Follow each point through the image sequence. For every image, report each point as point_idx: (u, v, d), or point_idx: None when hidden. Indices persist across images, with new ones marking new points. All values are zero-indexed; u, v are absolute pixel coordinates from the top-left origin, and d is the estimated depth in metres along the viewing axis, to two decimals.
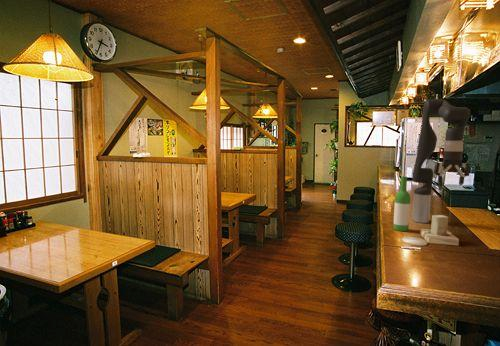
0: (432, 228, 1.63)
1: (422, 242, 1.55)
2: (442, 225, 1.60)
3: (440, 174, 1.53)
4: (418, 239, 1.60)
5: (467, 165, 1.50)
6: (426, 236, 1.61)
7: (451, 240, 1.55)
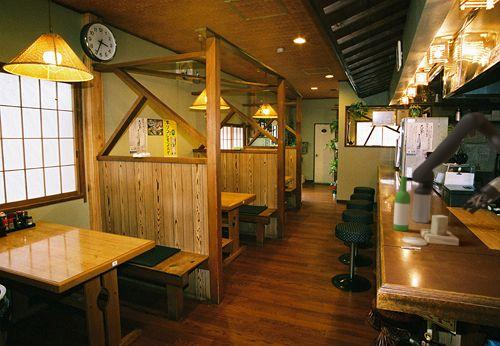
0: (432, 228, 1.63)
1: (422, 242, 1.55)
2: (442, 225, 1.60)
3: None
4: (418, 239, 1.60)
5: None
6: (426, 236, 1.61)
7: (451, 240, 1.55)
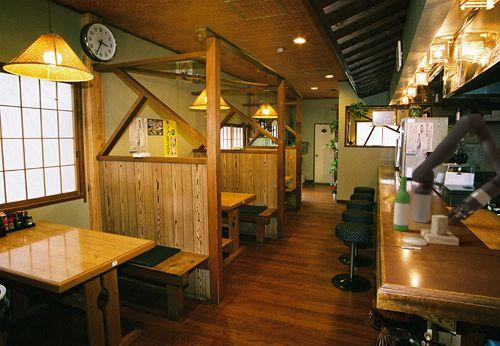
0: (432, 228, 1.63)
1: (422, 242, 1.55)
2: (442, 225, 1.60)
3: None
4: (418, 239, 1.60)
5: None
6: (426, 236, 1.61)
7: (451, 240, 1.55)
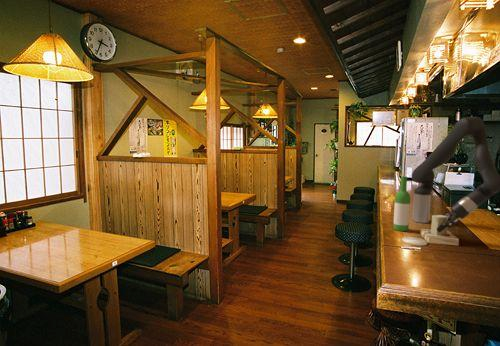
0: (432, 228, 1.63)
1: (422, 242, 1.55)
2: None
3: None
4: (418, 239, 1.60)
5: None
6: (426, 236, 1.61)
7: (451, 240, 1.55)
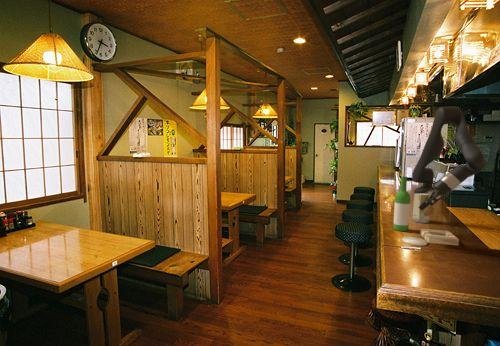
0: (415, 207, 1.57)
1: (422, 242, 1.55)
2: None
3: None
4: (418, 239, 1.60)
5: None
6: (426, 236, 1.61)
7: (451, 240, 1.55)
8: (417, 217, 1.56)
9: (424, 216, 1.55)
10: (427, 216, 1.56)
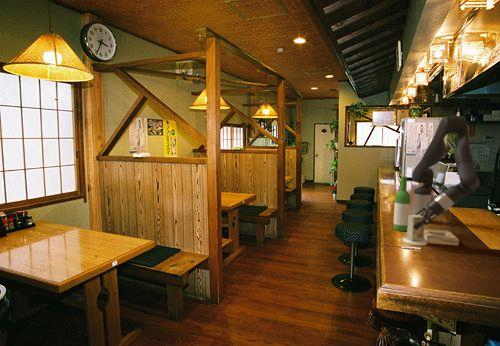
0: (408, 228, 1.59)
1: (422, 242, 1.55)
2: None
3: None
4: None
5: None
6: (426, 236, 1.61)
7: (451, 240, 1.55)
8: (410, 239, 1.57)
9: (418, 237, 1.57)
10: (421, 238, 1.57)
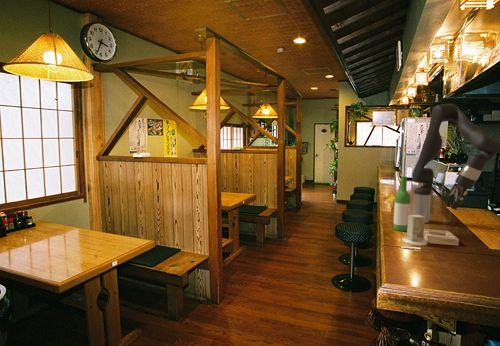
0: (408, 228, 1.59)
1: (422, 242, 1.55)
2: (418, 225, 1.56)
3: None
4: None
5: None
6: (426, 236, 1.61)
7: (451, 240, 1.55)
8: (410, 239, 1.57)
9: (418, 237, 1.57)
10: (421, 238, 1.57)
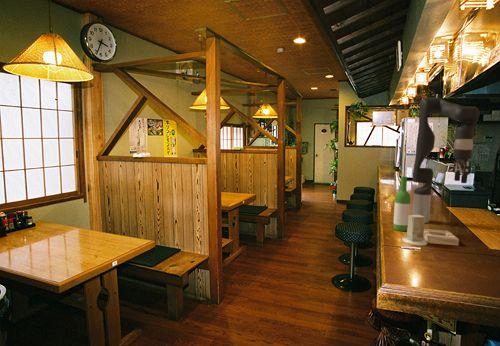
0: (408, 228, 1.59)
1: (422, 242, 1.55)
2: (418, 225, 1.56)
3: None
4: None
5: None
6: (426, 236, 1.61)
7: (451, 240, 1.55)
8: (410, 239, 1.57)
9: (418, 237, 1.57)
10: (421, 238, 1.57)
